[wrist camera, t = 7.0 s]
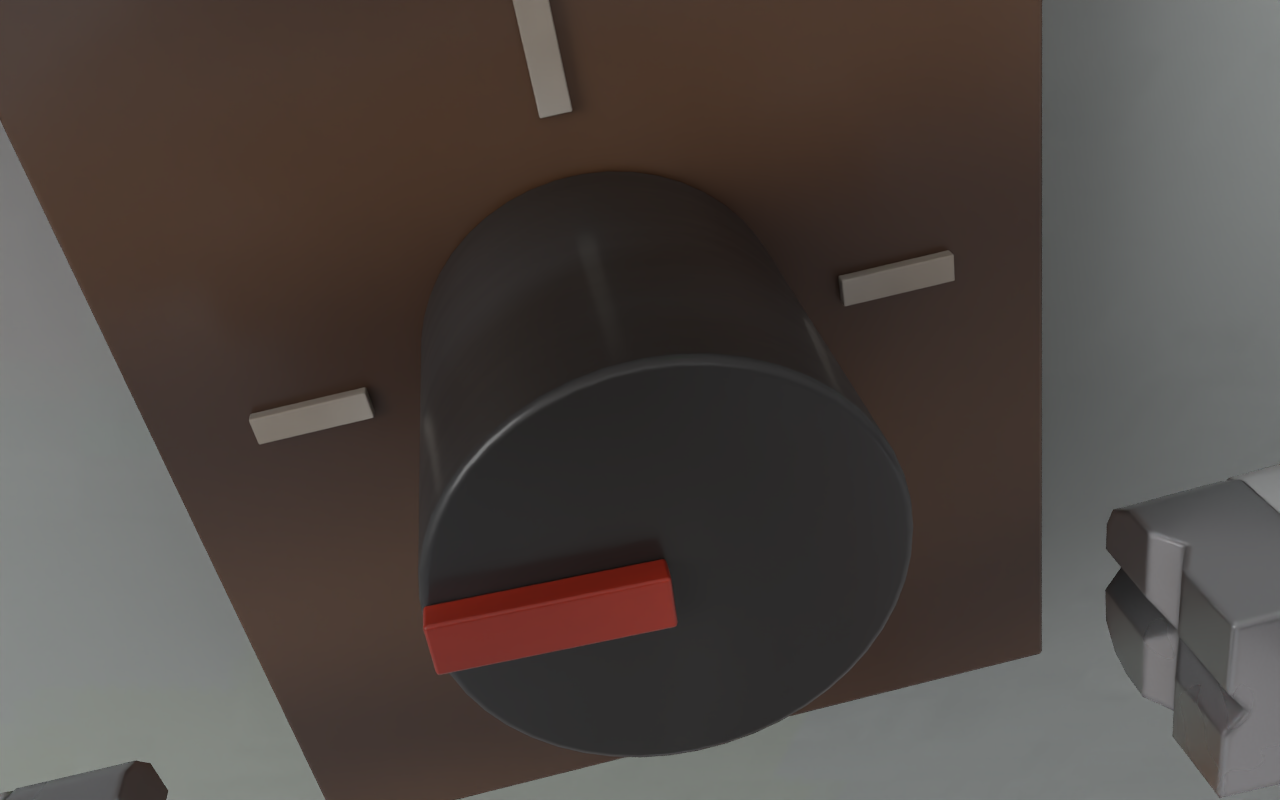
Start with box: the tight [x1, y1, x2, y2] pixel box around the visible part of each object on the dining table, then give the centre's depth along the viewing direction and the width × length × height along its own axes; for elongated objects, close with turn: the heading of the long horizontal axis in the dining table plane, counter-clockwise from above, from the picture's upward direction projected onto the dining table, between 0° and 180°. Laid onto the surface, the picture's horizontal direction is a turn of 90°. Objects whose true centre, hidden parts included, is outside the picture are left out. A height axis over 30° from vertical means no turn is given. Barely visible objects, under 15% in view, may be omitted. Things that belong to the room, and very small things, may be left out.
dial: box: [418, 171, 913, 757], centre depth 12 cm, size 4×4×5 cm
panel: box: [0, 0, 1042, 800], centre depth 15 cm, size 14×11×3 cm
